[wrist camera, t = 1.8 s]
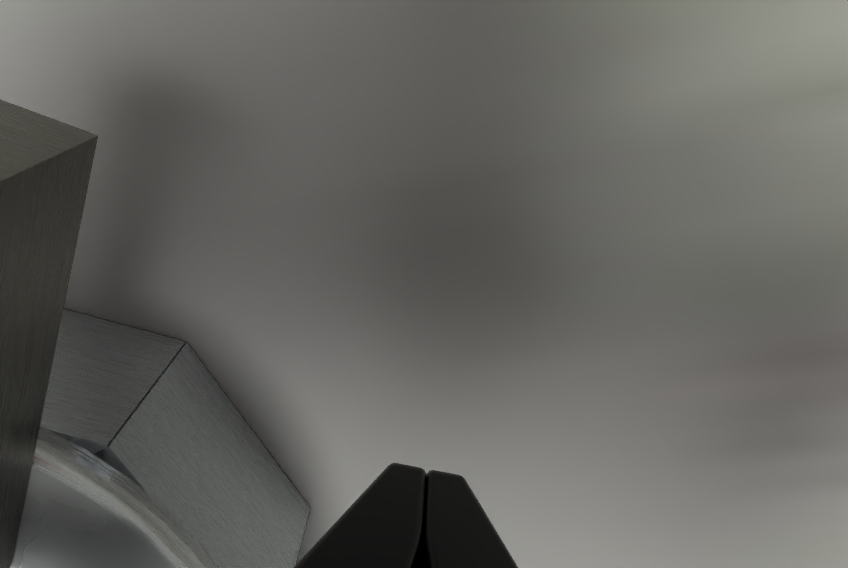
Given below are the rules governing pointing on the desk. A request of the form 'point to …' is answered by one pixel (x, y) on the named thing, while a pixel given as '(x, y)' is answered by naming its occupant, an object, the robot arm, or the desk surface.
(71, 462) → the lid
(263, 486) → the pot
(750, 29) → the desk surface
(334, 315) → the desk surface
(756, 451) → the desk surface
